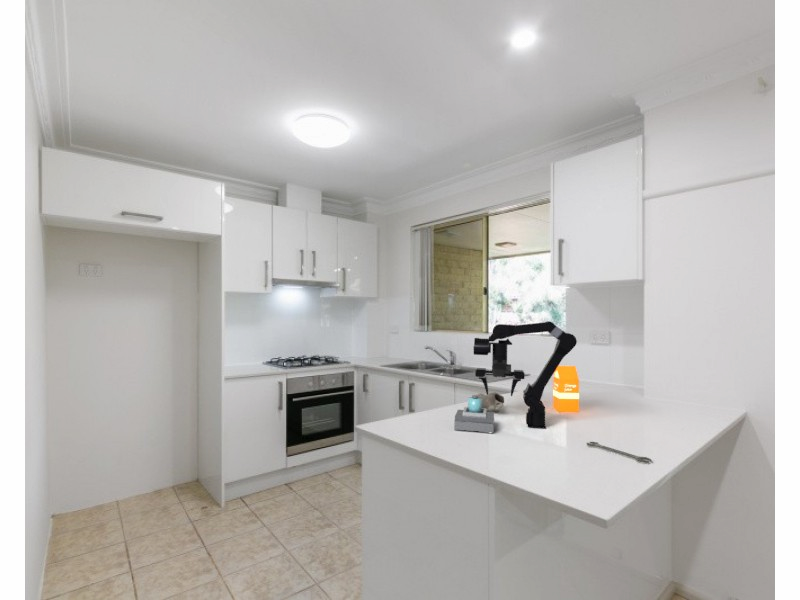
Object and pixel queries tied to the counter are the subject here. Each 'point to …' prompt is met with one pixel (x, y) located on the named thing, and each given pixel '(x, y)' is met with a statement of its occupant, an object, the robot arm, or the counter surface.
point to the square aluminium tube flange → (474, 420)
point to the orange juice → (566, 389)
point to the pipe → (492, 401)
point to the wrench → (620, 453)
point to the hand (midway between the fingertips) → (499, 395)
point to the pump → (475, 404)
